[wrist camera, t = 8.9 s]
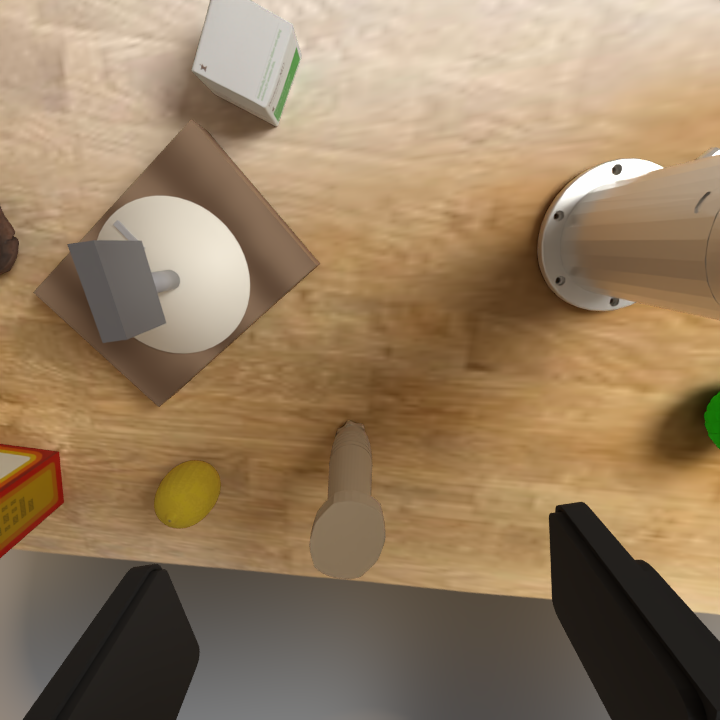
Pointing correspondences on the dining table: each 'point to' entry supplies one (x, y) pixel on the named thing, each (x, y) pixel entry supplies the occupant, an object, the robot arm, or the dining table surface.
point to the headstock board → (241, 216)
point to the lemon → (187, 494)
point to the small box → (248, 57)
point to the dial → (187, 270)
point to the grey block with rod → (121, 287)
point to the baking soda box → (26, 491)
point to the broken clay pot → (7, 244)
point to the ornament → (713, 419)
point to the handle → (348, 510)
